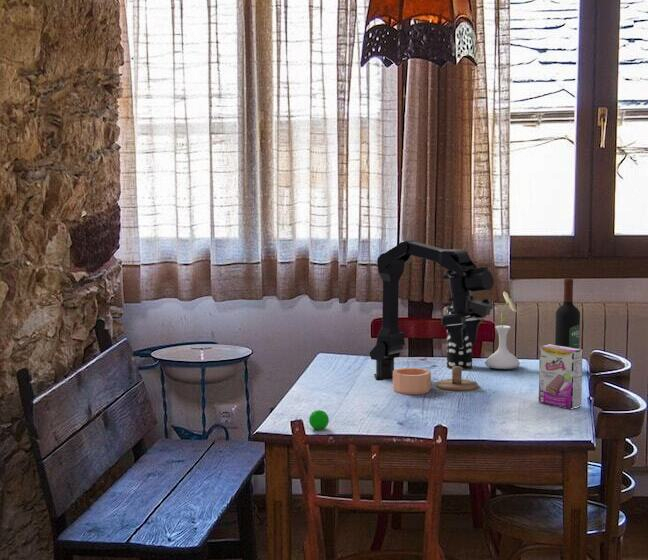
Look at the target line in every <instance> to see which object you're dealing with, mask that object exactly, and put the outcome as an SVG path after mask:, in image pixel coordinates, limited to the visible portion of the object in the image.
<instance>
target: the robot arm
mask: <svg viewBox="0 0 648 560" xmlns="http://www.w3.org/2000/svg"><path fill="white" fill-rule="evenodd" d="M412 256H413V257H417V258H421V259H425V260H427V261H432V262H435V263H436V264H438V265H439V266H440V267H441V268H443V269H445V270H446V272H445V274H444V275H443V276H442V280H447V279H448V283H449V290H450V297H448V302H451V306H452V307H453V312H451V314H448V315H447V314H444V315H442V317H441V318H440V320H441V322H440V323H441V326H443V327H444V328H445V329H446V331H447V330H448V332H449V333H450V335H451V336H452V338H453V339H454V341H455V343H456V344H457V346H458V347H459V348H463V328H464V327H465V329H466V332H467V334H468V337H469V339H470V341H471V343H472V345H475V344H476V343H477V336H478V330H479V326H480V325H481V323H482V322H483V321H484V320H485V319H484V318H486V317H487V316H490V315H491V312H492V311H491V310H493V309H494V306H493V304H492V301H491V298H487V297H485V298H484V299H482V300H477V299H476V297H475V295H474V294H471V293H472V292H473V293H475V292H484V291H490V290H492V289H493V288H494V287H493V286H494V284H495V283H494V281H495V280H494V277H493V275H492V273H491V271H489V270H488V266H482V267H478V266H477V265H476V264H475V262H474V261H473V260H472V259H471V257H470V255H469V252H468V251H467V250H466V249H456V248H452V249H449V248H447V249H445V248H440V247H437V246H433V245H430V244H426V243H422V242H419V241H415V240H414V239H407V240H402V241H401V242H400V243H398V244H397V245H395V246H394V247H392V248H391V249H389V250H387V251H386V252H384V253H381V254H380V255H379V256H378V257H377V261H376V263H377V272H378V275H379V276H380V278H381V280H382V312H381V313H382V317H381V318H382V319H381V321H382V322H381V328H380V330H379V331H378V334H377V337H376V344H375V346H374V347H373V348H372V349H371V351H370V352H369V357H370V359H371V360H374V361H375V373H373V376H374V378H375V380H388V379H389V380H391V379H392V380H393V371H394V370H395V359H396V358H400V356H401V353H402V351H403V350H404V346H405V345H406V341H405V336H406V333H405V332H404V331H401V329H400V328H399V293H400V292H399V291H400V290H399V286H400V283H399V282H400V280H401V278H402V275H403V274H404V271H405V264H406V263H407V262H408V261H409V260H410V259H411V258H412Z"/></svg>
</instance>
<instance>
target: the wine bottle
mask: <svg viewBox="0 0 648 560" xmlns="http://www.w3.org/2000/svg"><path fill="white" fill-rule="evenodd" d="M573 289H574V279H573V278H564V280H563V303H562V305H560V306H559V307H558V308H557V310H556V311H555V331H554V332H555V336H554V338H555V339H554V345H557V346H563V347H569V348H576V349H580V340H581V339H580V336H581V335H580V334H581V333H580V331H581V312H580V310H579V309H578V308H577V306H575V305H574V301H573V300H574V299H573V297H574V295H573V294H574V290H573Z"/></svg>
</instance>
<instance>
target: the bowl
mask: <svg viewBox="0 0 648 560" xmlns="http://www.w3.org/2000/svg"><path fill="white" fill-rule="evenodd" d="M431 382H432V373H431V371H430V370H429V369H425V368H420V367H402V368H396V369H394V371H393V379H392V389H393V391H394V392H395V393H398V394H403V395H421V394H423V395H424V394H426V393H428V392H430V390H432V387H431V386H432V384H431Z"/></svg>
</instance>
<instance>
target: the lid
mask: <svg viewBox="0 0 648 560" xmlns="http://www.w3.org/2000/svg"><path fill="white" fill-rule="evenodd" d="M451 370H452V371H451V378H449V379H441V380H438V381H436V382H437V388H439V389H442V390H447V391H470V390H474V389H476V388H477V383H478V382H477V381H476V382H477V383H476V382H474V381H475V380H474V381H473V380H469V379H462V375H463V373H462V371H463V370H462V367H460V366H453V367H452V369H451Z"/></svg>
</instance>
